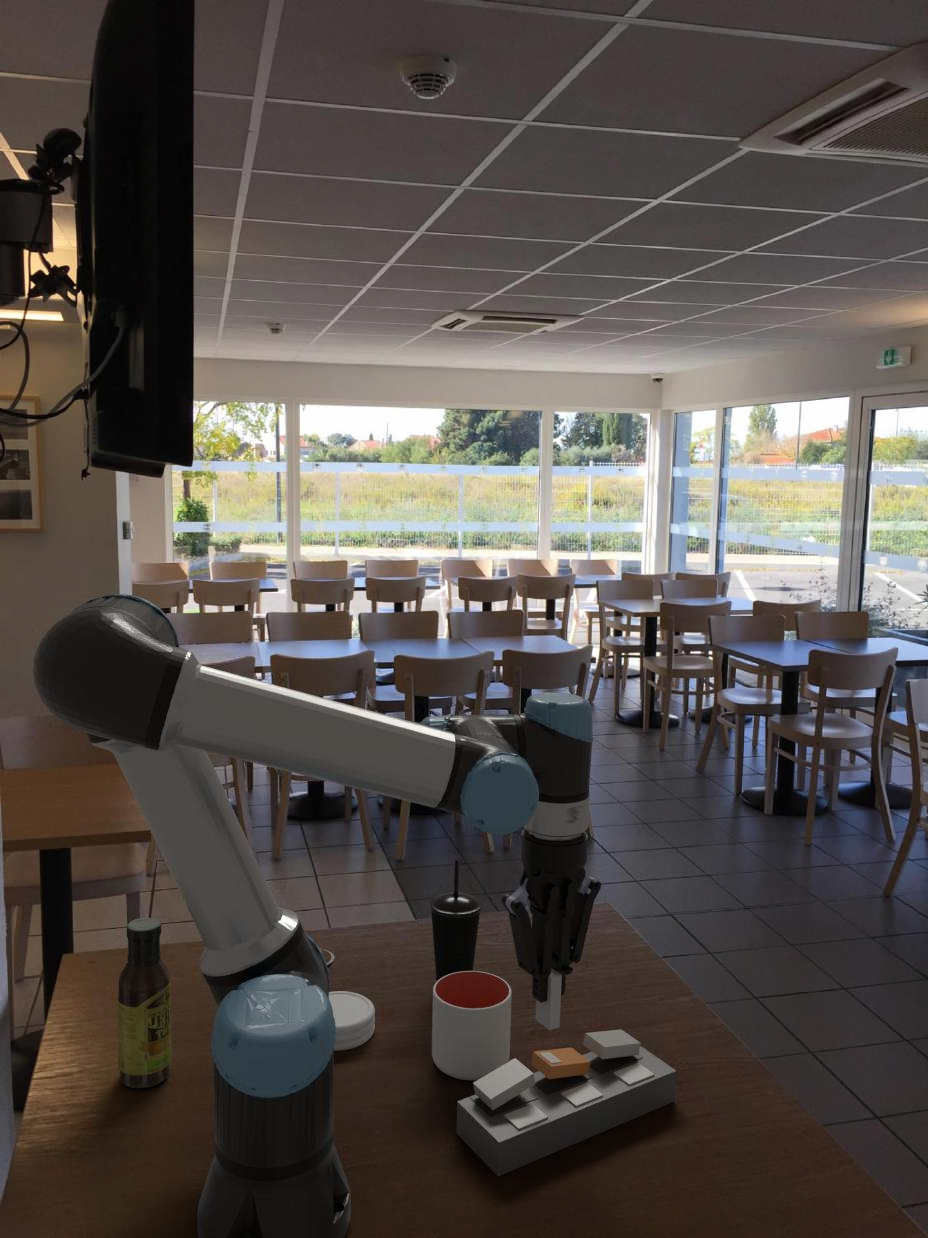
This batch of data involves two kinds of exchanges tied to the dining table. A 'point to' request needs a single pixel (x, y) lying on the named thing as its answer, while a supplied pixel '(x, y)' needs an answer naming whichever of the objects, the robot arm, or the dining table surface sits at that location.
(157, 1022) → the sauce bottle
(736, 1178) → the dining table surface
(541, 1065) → the block
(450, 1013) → the cup
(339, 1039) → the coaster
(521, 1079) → the block
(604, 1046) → the rocker
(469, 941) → the drinking cup
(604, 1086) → the switch panel
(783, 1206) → the dining table surface
